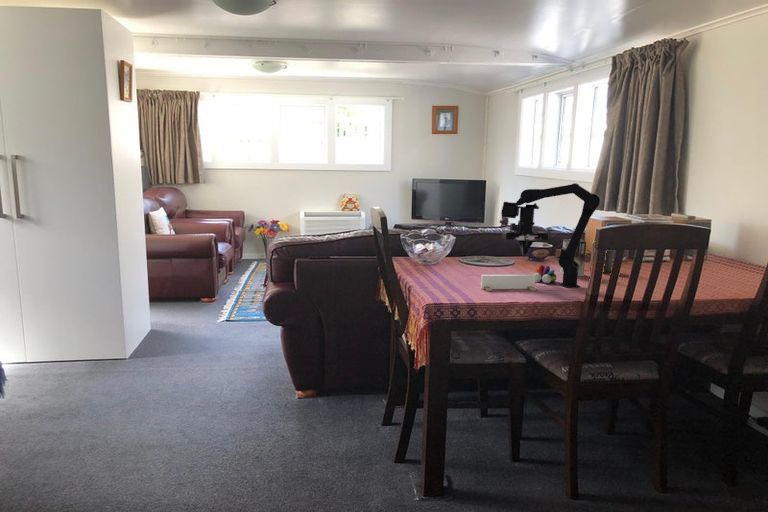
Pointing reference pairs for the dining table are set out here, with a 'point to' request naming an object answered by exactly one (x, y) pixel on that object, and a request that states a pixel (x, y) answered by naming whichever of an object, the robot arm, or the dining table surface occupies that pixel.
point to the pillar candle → (607, 262)
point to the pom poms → (545, 274)
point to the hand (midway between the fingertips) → (523, 255)
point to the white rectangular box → (508, 282)
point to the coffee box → (577, 255)
